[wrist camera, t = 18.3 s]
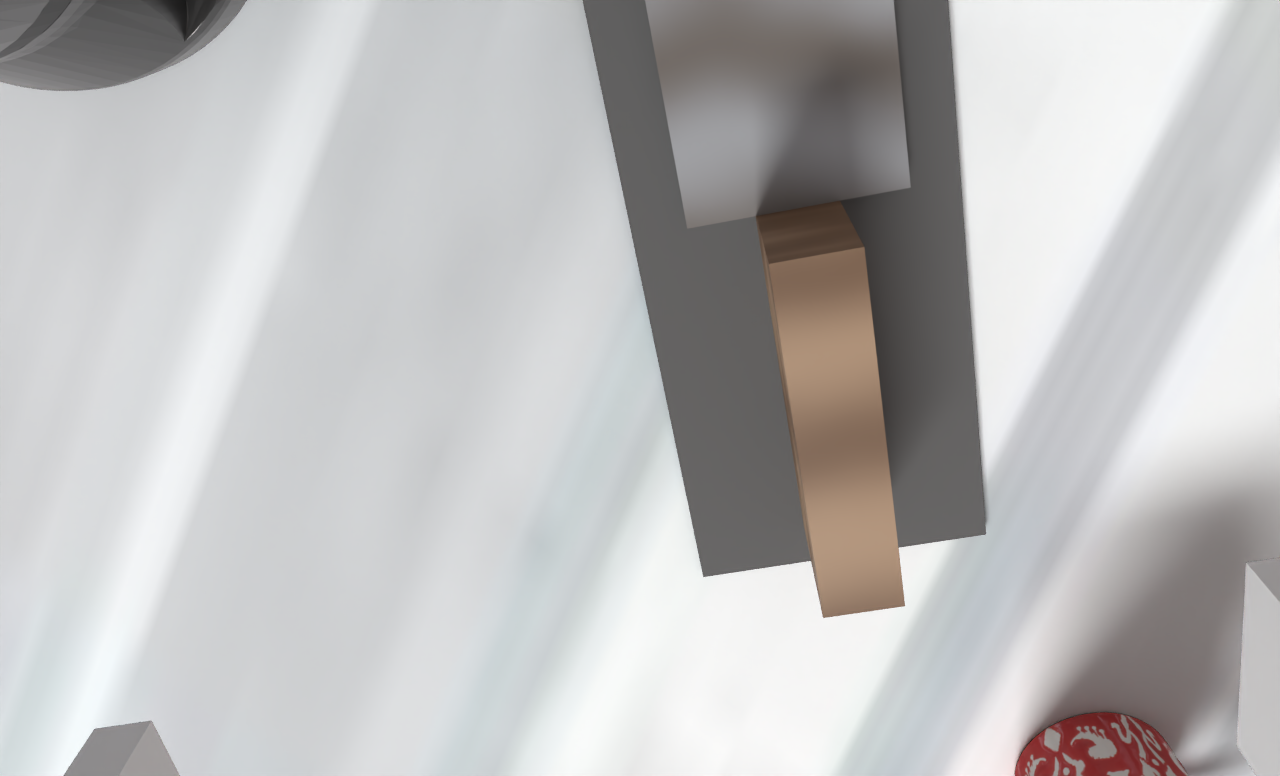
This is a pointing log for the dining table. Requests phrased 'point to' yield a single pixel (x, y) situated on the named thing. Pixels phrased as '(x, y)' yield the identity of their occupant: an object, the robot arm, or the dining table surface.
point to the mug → (1099, 749)
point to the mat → (742, 326)
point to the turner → (803, 234)
